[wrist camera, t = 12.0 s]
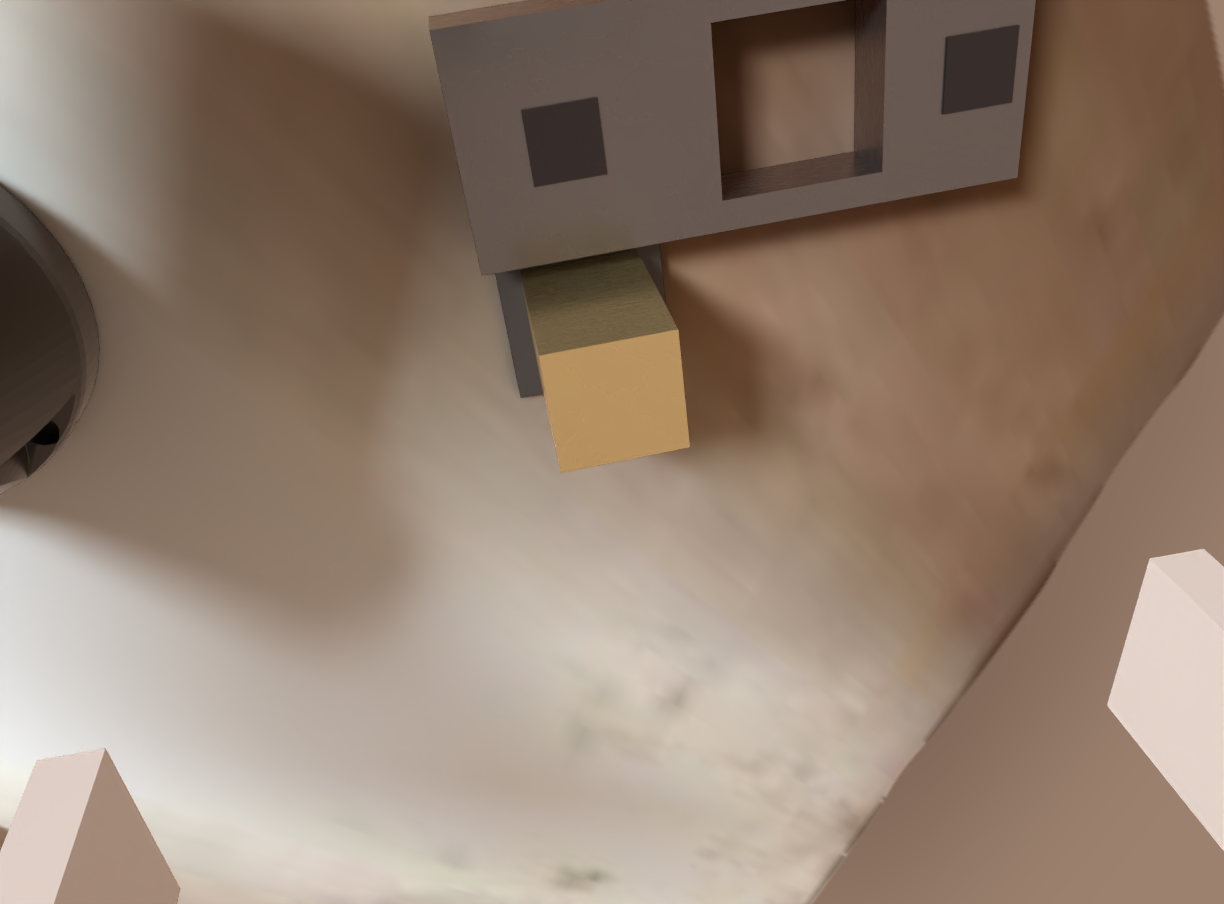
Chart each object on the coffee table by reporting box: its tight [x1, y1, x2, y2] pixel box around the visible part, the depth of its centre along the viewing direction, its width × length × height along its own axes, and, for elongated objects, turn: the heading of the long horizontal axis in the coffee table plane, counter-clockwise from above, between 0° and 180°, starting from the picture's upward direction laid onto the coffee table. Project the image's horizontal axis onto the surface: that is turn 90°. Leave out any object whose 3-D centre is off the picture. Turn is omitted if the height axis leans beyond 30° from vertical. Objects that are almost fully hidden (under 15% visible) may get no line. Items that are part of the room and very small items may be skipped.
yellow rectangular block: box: [520, 249, 690, 473], centre depth 39 cm, size 5×5×8 cm
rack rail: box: [429, 0, 1036, 276], centre depth 38 cm, size 22×9×3 cm, turn 97°
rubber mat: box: [495, 243, 666, 398], centre depth 43 cm, size 7×7×1 cm
